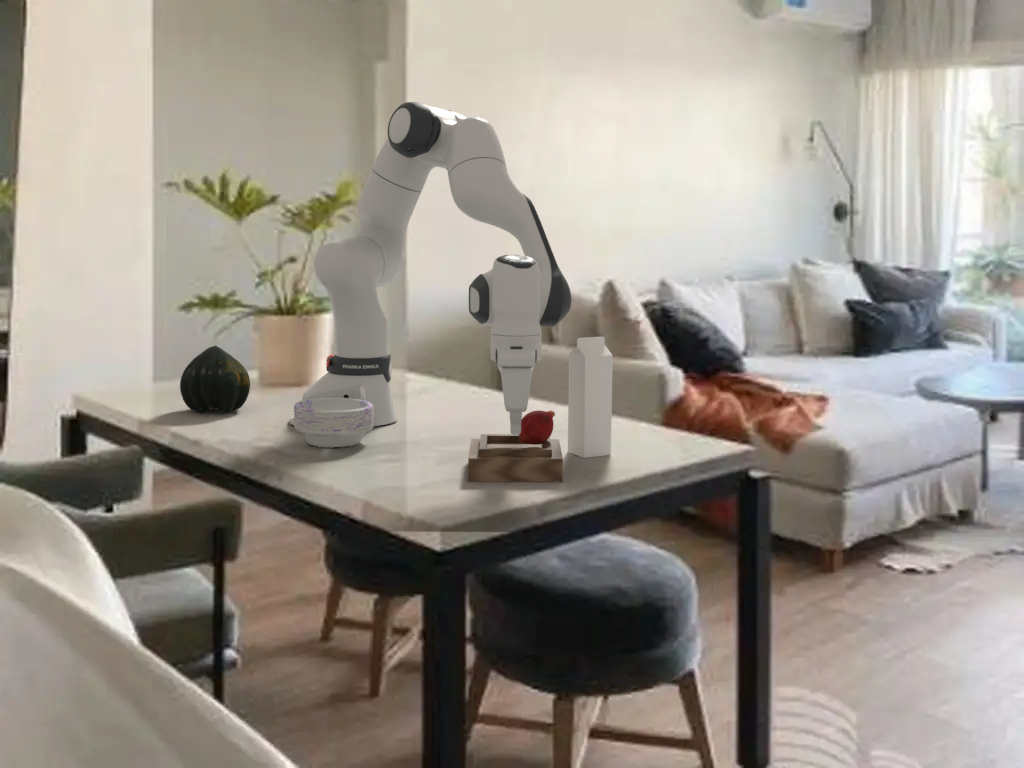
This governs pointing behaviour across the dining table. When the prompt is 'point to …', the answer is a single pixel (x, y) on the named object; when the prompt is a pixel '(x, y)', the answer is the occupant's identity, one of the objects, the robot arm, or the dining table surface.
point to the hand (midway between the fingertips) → (515, 428)
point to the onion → (536, 427)
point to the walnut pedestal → (514, 460)
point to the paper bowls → (333, 421)
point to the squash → (214, 382)
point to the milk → (590, 398)
